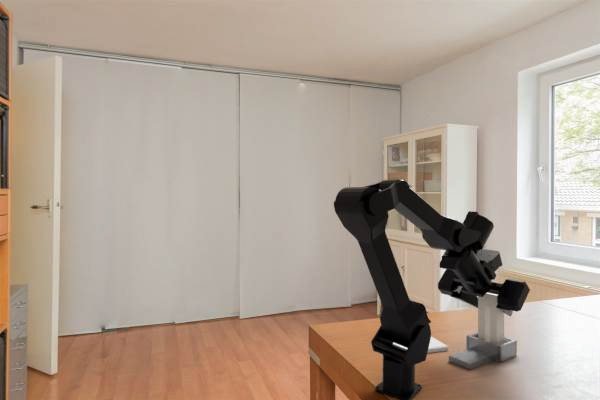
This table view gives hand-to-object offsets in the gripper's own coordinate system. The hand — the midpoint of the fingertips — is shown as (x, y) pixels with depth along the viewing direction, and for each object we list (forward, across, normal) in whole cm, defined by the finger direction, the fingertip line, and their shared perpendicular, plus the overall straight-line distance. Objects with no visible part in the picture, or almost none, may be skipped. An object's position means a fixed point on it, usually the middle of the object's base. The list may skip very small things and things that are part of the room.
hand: (494, 310), depth 90 cm
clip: (+5, 0, +7) cm, 8 cm away
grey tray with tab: (+3, 0, +10) cm, 11 cm away
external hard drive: (-2, +12, +16) cm, 20 cm away
